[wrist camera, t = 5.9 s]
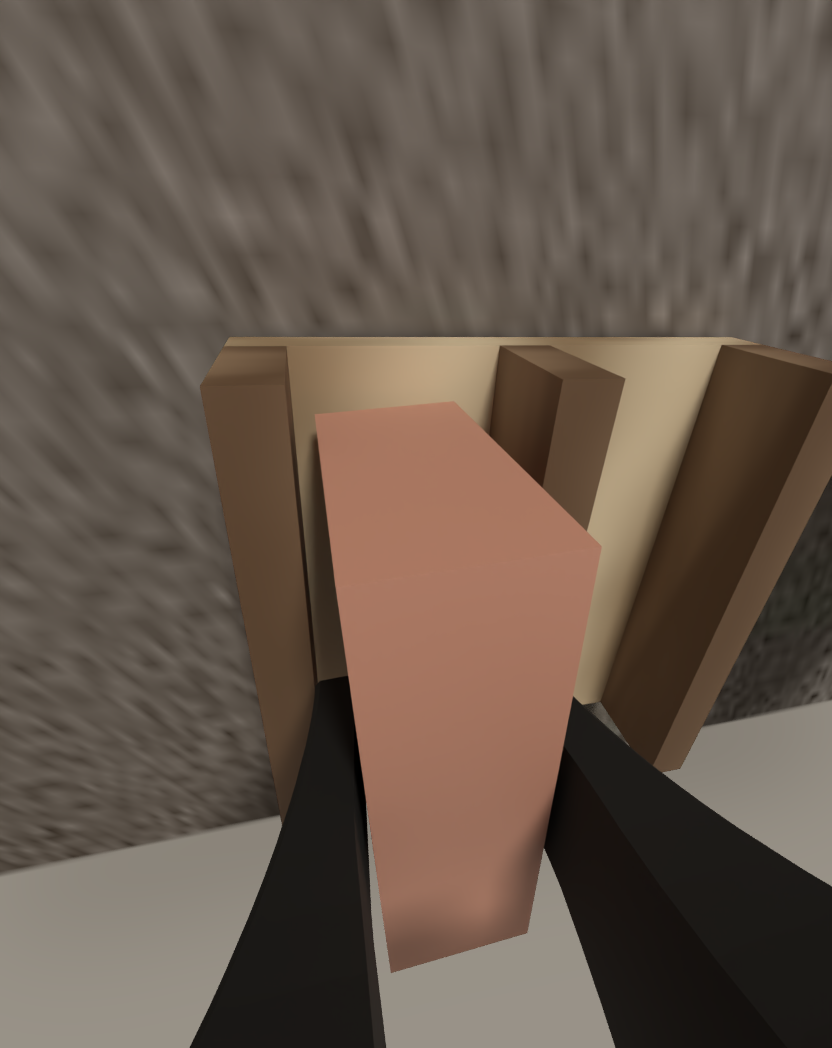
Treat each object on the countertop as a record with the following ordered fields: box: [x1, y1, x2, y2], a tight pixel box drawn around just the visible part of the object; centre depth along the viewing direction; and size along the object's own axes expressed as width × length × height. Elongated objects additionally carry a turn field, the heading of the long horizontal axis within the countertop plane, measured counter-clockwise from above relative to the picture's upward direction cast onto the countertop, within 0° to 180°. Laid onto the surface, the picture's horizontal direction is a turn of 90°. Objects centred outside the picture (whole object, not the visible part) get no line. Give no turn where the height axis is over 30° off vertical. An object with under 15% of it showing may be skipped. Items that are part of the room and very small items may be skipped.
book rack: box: [200, 337, 832, 825], centre depth 13 cm, size 13×13×4 cm
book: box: [315, 401, 602, 973], centre depth 10 cm, size 3×10×6 cm, turn 2°
